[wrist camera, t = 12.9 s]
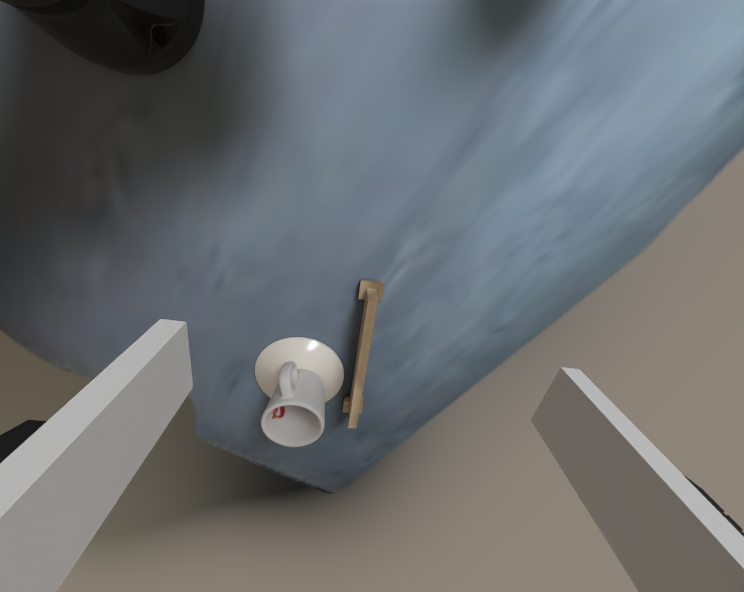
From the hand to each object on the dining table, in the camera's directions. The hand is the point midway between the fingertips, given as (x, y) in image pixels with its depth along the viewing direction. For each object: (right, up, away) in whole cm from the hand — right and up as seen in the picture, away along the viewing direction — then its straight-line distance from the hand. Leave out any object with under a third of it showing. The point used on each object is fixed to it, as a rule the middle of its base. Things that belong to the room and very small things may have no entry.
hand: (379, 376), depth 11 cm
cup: (-11, -9, +34) cm, 37 cm away
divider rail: (-2, -5, +33) cm, 34 cm away
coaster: (-11, -9, +35) cm, 37 cm away
